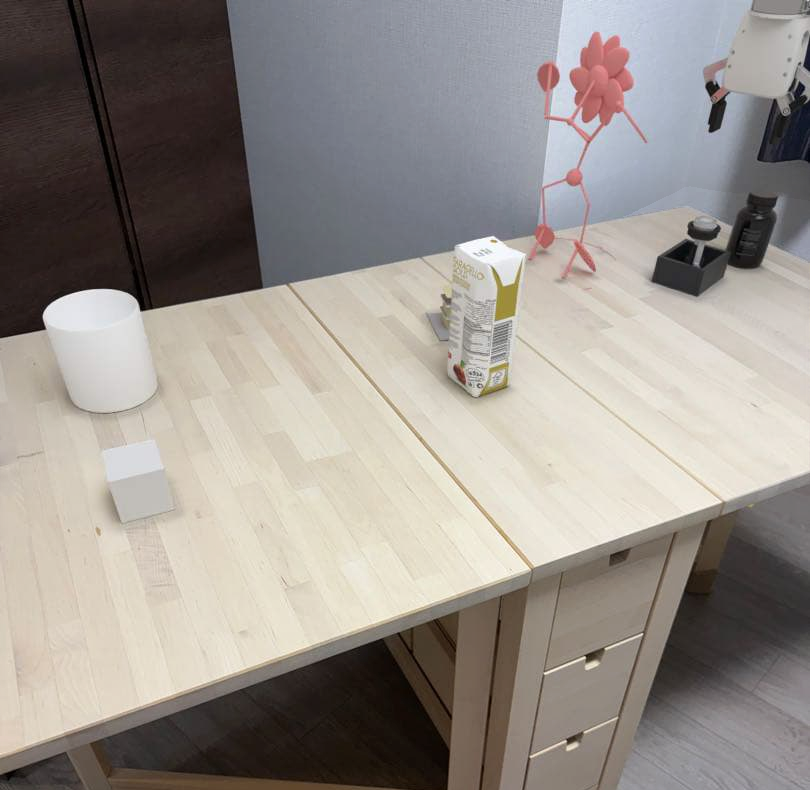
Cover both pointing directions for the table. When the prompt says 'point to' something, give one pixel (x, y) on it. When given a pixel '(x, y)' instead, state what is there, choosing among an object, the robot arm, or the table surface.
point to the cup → (101, 349)
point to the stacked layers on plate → (443, 315)
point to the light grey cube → (137, 480)
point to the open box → (690, 268)
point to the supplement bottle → (752, 229)
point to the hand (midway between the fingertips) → (743, 136)
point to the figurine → (588, 113)
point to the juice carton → (484, 314)
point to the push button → (700, 238)
